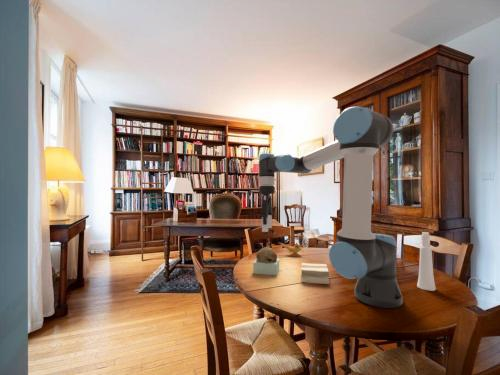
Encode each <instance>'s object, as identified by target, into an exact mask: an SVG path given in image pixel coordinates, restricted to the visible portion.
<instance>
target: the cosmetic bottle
mask: <svg viewBox="0 0 500 375" xmlns="http://www.w3.org/2000/svg"><path fill="white" fill-rule="evenodd" d="M421 233H422V234H421V240H420V241H421V246H420V248H419V266H418V277H417V278H418V279H417V284H416V287H417V288H419V289H420V290H424V291H427V292H428V291H430V292H434V291H436V290H437V288H436V283H435V279H434V278H435V277H434V267H433V266H434V265H433V251H432V250H433V249H432V247H431V236H430V232H427V231H422V232H421Z"/></svg>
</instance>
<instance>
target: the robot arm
mask: <svg viewBox="0 0 500 375" xmlns="http://www.w3.org/2000/svg"><path fill="white" fill-rule="evenodd" d="M332 130H333V131H332V133H333V137H334V138H335V139H336V140H335V141H332V142H331V143H328V144H326V145H324V146H322V147H319V148H317V149H315V150H313V151H310V152H308V153H307V154H305V155H301V156H292V155H291V154H290V153H286V154H284V153H283V154H282V153H281V154H278V155H275V154H274V153H270V152H268V153H267V152H266V153H261V154H259V155H258V156H259V159H258V186H259V187H258V191H259V192H258V194H261V198H262V201H261V214H260V215H259V216H260V218H261V232H262V233H268V232H269V229H272V228H273V219H272V218H273V215H274V212H273V208H272V205H273V204H272V200H273V199H272V194H273V195H274V194H275V193H276V189H275V188H276V187H275V186H274V185H276V184H275V182H276V181H277V179H276V178H275V173H291V174H292V173H293V174H302V175H303V174H309V173H311V172H312V171H313V170H314V169H316V168H319V167H323V166H325V165H328V164H330V163H333V162H336V161H338V160H341V159H343V160H344V161H343V184H342V187H343V189H342V216H341V217H342V219H341V222H342V223H341V224H342V225H341V228H340V230H338V231H337V232H336V242H335V243H333V244H332V245H331V246H330V248H329V252H328V256H329V262H330V264H331V266H332V268H334V270H335V271H336V273H337V274H338V275H339V276H341V277H344V278H346V279H348V280H349V279H350V280H356V279H357V280H356V283H355V286H354V291H353V292H354V294H353V295H354V297H355V298H356V299H357V300H358V301H360V302H362V303H364V304H367V305H369V306H371V307H376V308H381V309H382V308H384V309H394V308H400V307H401V306H403V295H402V292H401V289H400V286H399V284H398V280H397V247H398V246H397V243H396V242H397V241H396V238H395V236H393V235H388V234H381V233H373V232H372V205H373V204H372V203H373V198H372V197H373V177H374V176H373V174H374V173H373V172H374V168H373V167H374V155H375V154H376V153H378V152H379V151H380V148H382V147H383V146H385V145H386V144H388V143H389V141H390V140H391V138H392V136H393V134H394V125H393V122H392V121H391V119H390V118H389V117H388V116H386V115H385V114H382V113H379V112H376V111H373V110H371V109H369V108H368V107H366V106H365V107H364V106H351V107H347V108H345V109H344V110H343V111H342V112H341V113H340V114H339V116H337V118H336V119H335V121H334V123H333V129H332Z"/></svg>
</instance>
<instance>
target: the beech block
mask: <svg viewBox="0 0 500 375" xmlns="http://www.w3.org/2000/svg"><path fill="white" fill-rule="evenodd" d="M301 283H309V284H320V285H321V284H323V285H330V272H329V269H328V266H327V264H326V263H309V262H301Z"/></svg>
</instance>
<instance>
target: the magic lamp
mask: <svg viewBox="0 0 500 375" xmlns="http://www.w3.org/2000/svg"><path fill="white" fill-rule="evenodd" d="M306 240H307V237H304V238H303V242H302V244H301V245H300V244H298V242H295V244H294V245H293V246H290V245H287V244H285V243H282V242H279V245H281V246H282V247H283V248H285V249H286V250H288V251H290V252H292V253H291V254H290V255H291V256H293V257H300V254H299V252H304V248H306V247H307V246H308V245H309V244H308V242H307V241H306ZM305 243H306V245H305V246H304V244H305ZM303 246H304V247H303ZM302 250H303V251H302Z"/></svg>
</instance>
